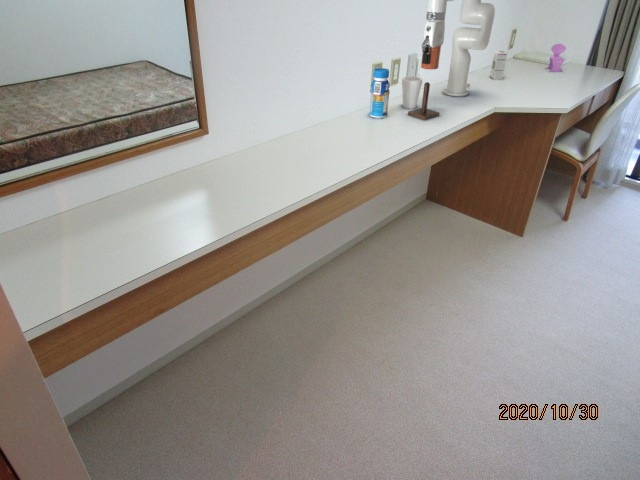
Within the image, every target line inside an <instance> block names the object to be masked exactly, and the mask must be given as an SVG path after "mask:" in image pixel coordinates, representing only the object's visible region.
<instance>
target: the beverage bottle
mask: <svg viewBox="0 0 640 480" xmlns="http://www.w3.org/2000/svg"><path fill="white" fill-rule="evenodd" d="M372 76H373V80H372V82H371V83H370V87H371V89H370V90H369V91H370V92H369V93H370V96H369V98H370V99H369V116H370V117H372V118H375V119H376V118H377V119H383V118H386V117H388V113H389V112H388V111H389V100H390V87H391V85H390V82H389V77H390V69H389V68H383V67H378V68H374V69H373V75H372Z"/></svg>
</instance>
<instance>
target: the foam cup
mask: <svg viewBox="0 0 640 480" xmlns="http://www.w3.org/2000/svg"><path fill="white" fill-rule="evenodd" d="M422 85H423V78H422V77H420V76H414V75H413V76H412V75H411V76H409V75H408V76H407V75H406V76H402V77H401V87H402V88H401V91H402V107H403V108H405V109H417V105H418V100H419V97H420V92H421V89H422Z"/></svg>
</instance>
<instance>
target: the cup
mask: <svg viewBox="0 0 640 480" xmlns="http://www.w3.org/2000/svg"><path fill="white" fill-rule="evenodd" d="M427 46H430V45H427ZM427 49H429V48H427ZM441 49H442V45H440V46H437V47H435V48H432V47H431V51H430V53H429V54H430V61H429V64H422V61H421V63H420V68H421V69H423V70H437V69H439V66H440V59H441V51H442V50H441ZM422 58H423V53H422V54H421V59H422Z"/></svg>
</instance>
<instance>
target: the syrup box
mask: <svg viewBox="0 0 640 480" xmlns="http://www.w3.org/2000/svg"><path fill="white" fill-rule="evenodd" d="M507 58H508V52H506V51H505V50H494V54H493V59H492V63H491V64H492V65H491V70H490V74H489V77H490V78H491V79H492V80H503V78H504V72H505V67H506V63H507Z"/></svg>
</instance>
